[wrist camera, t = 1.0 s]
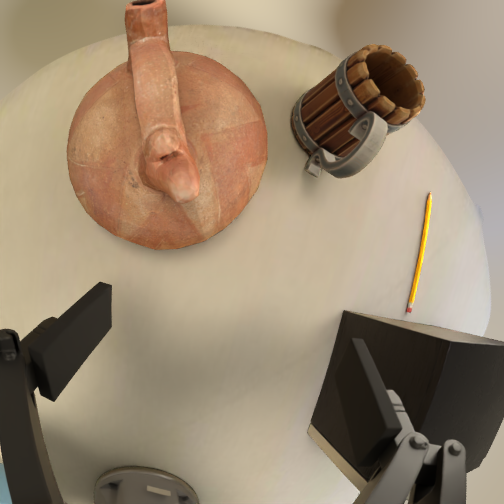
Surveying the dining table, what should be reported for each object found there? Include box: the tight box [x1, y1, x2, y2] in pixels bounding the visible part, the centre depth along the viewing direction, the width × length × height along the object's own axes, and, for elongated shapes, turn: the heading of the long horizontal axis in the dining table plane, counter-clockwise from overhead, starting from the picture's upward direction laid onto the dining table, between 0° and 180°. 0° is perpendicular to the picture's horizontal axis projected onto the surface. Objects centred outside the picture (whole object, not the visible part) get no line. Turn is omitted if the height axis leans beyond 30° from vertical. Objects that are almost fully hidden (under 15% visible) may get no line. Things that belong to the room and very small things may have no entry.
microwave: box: [311, 310, 504, 481], centre depth 31 cm, size 18×20×18 cm
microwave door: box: [307, 424, 410, 500], centre depth 29 cm, size 7×15×18 cm, turn 77°
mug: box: [292, 44, 425, 178], centre depth 30 cm, size 16×11×15 cm
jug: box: [67, 0, 267, 250], centre depth 23 cm, size 18×18×20 cm
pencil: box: [406, 191, 432, 313], centre depth 41 cm, size 1×19×1 cm, turn 164°
